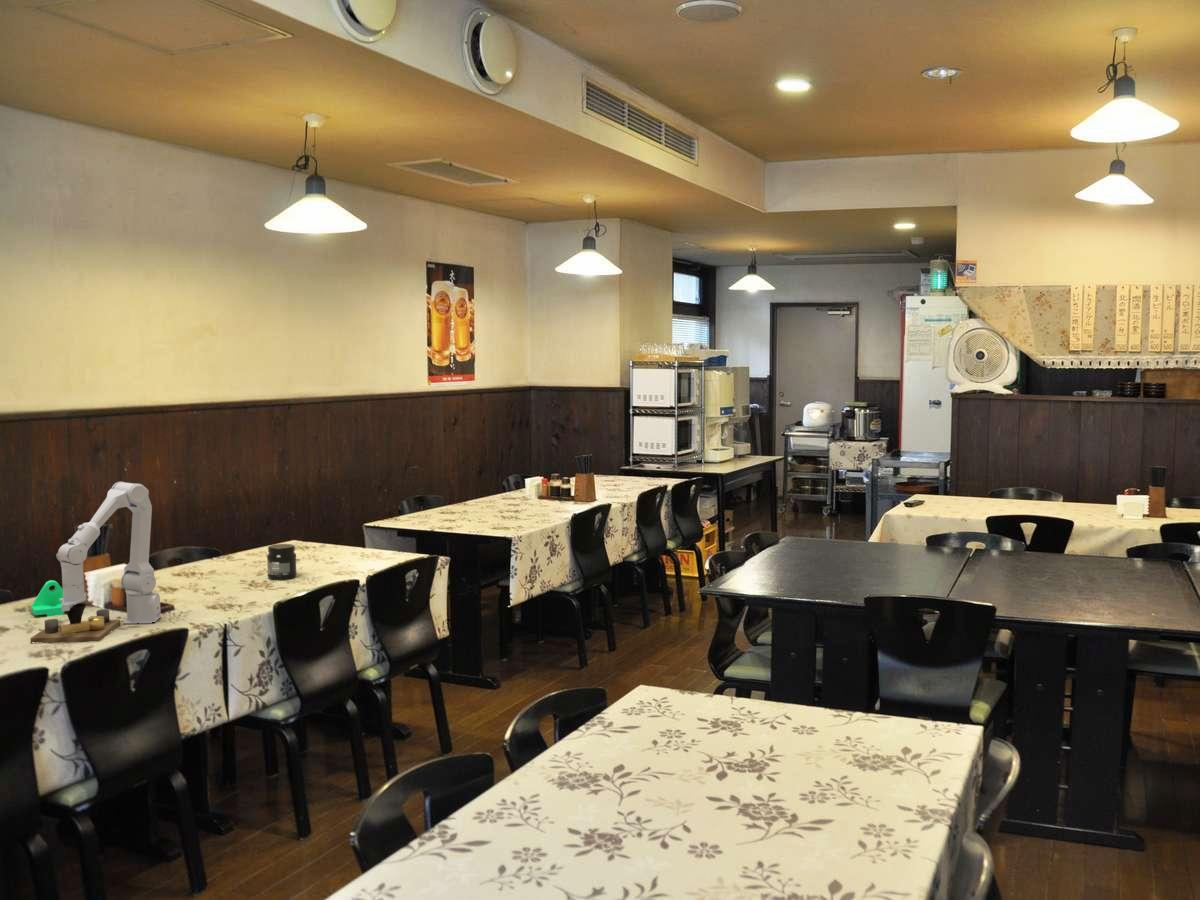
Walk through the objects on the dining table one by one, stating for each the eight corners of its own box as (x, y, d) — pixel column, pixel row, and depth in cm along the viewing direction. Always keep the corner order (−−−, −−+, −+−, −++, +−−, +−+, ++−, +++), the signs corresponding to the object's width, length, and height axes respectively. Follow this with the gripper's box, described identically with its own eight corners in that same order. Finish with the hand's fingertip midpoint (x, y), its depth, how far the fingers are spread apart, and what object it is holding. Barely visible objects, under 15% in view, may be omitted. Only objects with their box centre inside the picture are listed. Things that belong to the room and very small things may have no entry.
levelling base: (120, 624, 335) (119, 608, 335) (99, 641, 316) (98, 624, 316) (56, 626, 333) (55, 610, 333) (30, 643, 314) (29, 626, 313)
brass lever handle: (101, 625, 327) (101, 615, 327) (106, 628, 324) (106, 618, 324) (58, 632, 319) (57, 622, 318) (63, 635, 315) (63, 625, 315)
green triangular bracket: (34, 618, 343) (33, 586, 342) (31, 613, 349) (30, 582, 348) (76, 613, 349) (75, 582, 348) (72, 608, 355) (71, 578, 354)
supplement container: (293, 573, 411) (293, 542, 410) (299, 579, 402) (298, 547, 400) (265, 576, 406) (264, 544, 405) (270, 581, 397) (269, 549, 396)
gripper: (68, 578, 327) (70, 622, 328) (49, 590, 312) (52, 636, 314) (92, 578, 328) (95, 621, 329) (75, 589, 313) (77, 635, 315)
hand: (75, 628), depth 322 cm, fingers closed, pressing on brass lever handle
